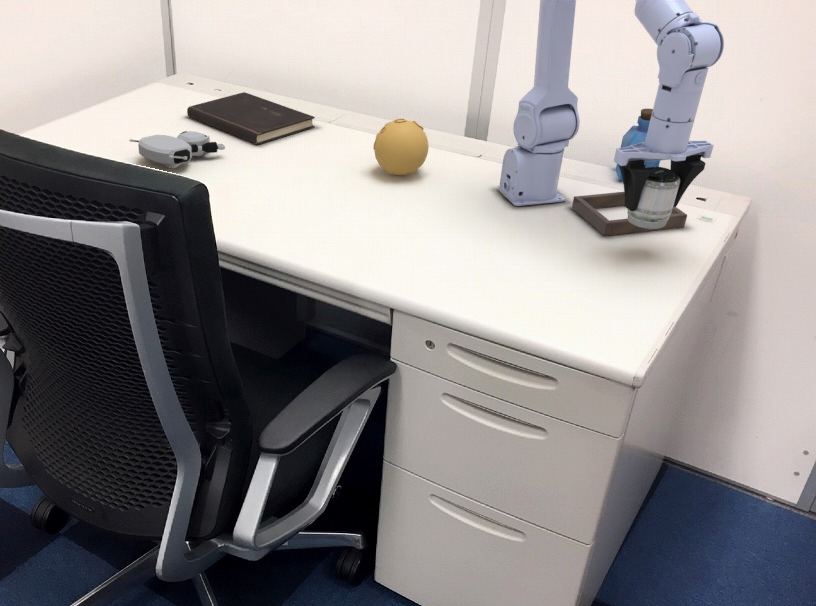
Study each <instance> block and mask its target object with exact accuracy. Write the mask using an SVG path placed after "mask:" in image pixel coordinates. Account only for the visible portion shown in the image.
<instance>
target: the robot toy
mask: <svg viewBox="0 0 816 606" xmlns="http://www.w3.org/2000/svg"><path fill="white" fill-rule="evenodd" d="M129 142H131V143H137V144H138V154H139V156H141V157H142V158H143V159H144V160H147V161H149V162H151V163H154V164H157V165H162V166H165V167H167V168H169V169H177V168H178V167H180V166H181V165H182V164H186V163H189V162H190V161H191V159H192V158H193V157H197V158H198V157H202V156H204V154H205V153H207V154H213V153H218V150H220V151H223V150H225V149H226V145H225V144H223V143H217V142H216V141H211V139H210V136H209V135H206V134H204V133H201V132H198V131H192V130H189V131H187V130H185V131H182V132H181V133H179V134H178V135H177V136H171V135H166V134H154V135H148V136H145V137H144V136H143V137H142V138H140V139H139V140H138V139H137V140H136V139H131V138H130V139H129Z"/></svg>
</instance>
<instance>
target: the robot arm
mask: <svg viewBox="0 0 816 606" xmlns="http://www.w3.org/2000/svg"><path fill="white" fill-rule="evenodd" d="M576 5H577V0H539V9H538V10H539V11H538V23H537V24H538V25H537V38H536V49H535V51H536V52H535V64H534V77H533V78H534V79H533V87H532V88H531V89H530V90H529V91H528V92H527V93H526V94H525V95H524V96H523V97H522V98H521V99H520V100H519V101H518V107H517V113H516V115H515V117H514V120H513V129H512V130H513V135H514V139H515V141H516V142H517V146H514V147H511V148H508V149H507V150H506V151H505V153H504V155H503V159H502V166H501V173H500V179H499V186H497V187H496V189H497V191H498V192H500V194H502V195H503V196H504V197H505V198H506V199H507V200H508V201H509V202H510V203H511V204H512V205H513V206H514V207H522V206H531V205H532V206H533V205H543V204H552V203H563V202H565V201H566V198H565V196H563V195H562V194H560V192H559V191H557V190H558V187H559V180H560V175H561V169H562V164H563V158H564V152H565V148H568V147H569V144H570V141H571V140H573V139H574V138H575V137H576V136H577V135H578V132H579V129H580V122H581V121H580V114H579V111H578V103H579V102H578V101H579V97H578V96H577V95H576V94H575V93H574V92H573V91H572V90H571V88H569V81H570V80H569V79H570V69H571V58H572V49H573V48H572V47H573V38H574V37H573V36H574V27H575V15H576ZM633 11H634V16H635V18H636V19H637V20H638V22H639V23H640V24H641V25H642V27H643V28H644V29H645V31H646V32H647V33H648V35H649V36H650V38H651V39H652V40H653V41H654V43H655V44H656V45H657V48H656V59H657V63H658V68H659V69H658V70H659V71H658V75H657V78H658V86H657V92H656V95H655V99H654V103H653V108H652V109H653V111H652V115H651V119H650V124H649V128H648V132H647V136H646V140H645V142H641V143H638V144H635V145H631V146H628V147H623V148H620V147H617V148H616V149H615V153H614V157H613V162H614V163H616V165H617V164H618V165H619V168H620V171H621V174H622V179H623V182H622V184H623V189H624V190H623V192H624V195H625V206H624V207H625V208H626V209H629V210H630V211H636V209H637V207H638V204H639V200H640V196H641V193H642V190H643V187H644V185H645V183H646V181H647V179H648V177H649V176H650V174H651V172H650V171H649V170H648V169H646V168H645V166H646V165H644V162H648V161H659V160H660V161H669V160H670V168H669V169H670V170H672V171H673V172H675V173H676V174H677V175H678V176H679V178H680V184H679V187H678V191H677V195H676V198H675V202H674V206H673V207H677V206H678V204H679V202H681V199H682V198H683V196H684V194H685V192H686V191H687V189H688V188H689V186H690V184H692V183H693V181H694V180H695V179H696V178H697V177H698V176H699V175H700V174H701V173H702V172H703V171H704V170H705V167H706V162H705V161H703V160H702V158H703V159H710V158H711V156H712V153H713V149H714V146H715V145H714V144H713V143H711V142H709V141H707V140H690V138H691V135H692V131H693V127H694V123H695V119H696V116H697V113H698V108H699V105H700V101H701V98H702V94H703V91H704V86H705V82H706V79H707V75H708V73H709V68H710V67H713V66H714V65H715V64H717V62H718V61H719V60H720V59H721V57H722V56H723V52H724V48H725V39H724V36H723V33H722V31H721V29H720V26H719V25H718V24H717V23H715V22H712V21H704V20H703V19H702V18H700V16H699V14H698V13H697V12H694V11H693V10H692V8H691V7H690V5H689V4H688V3H687V2H686V1H685V0H635V4H634V10H633Z"/></svg>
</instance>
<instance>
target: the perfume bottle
mask: <svg viewBox="0 0 816 606" xmlns="http://www.w3.org/2000/svg"><path fill="white" fill-rule="evenodd" d="M652 111H653V108H642V109H641V110H640V115H639V116H638V117H637V122H636V123H637V125H632V126H631V127H630V128H629V129H628V130H627V131H626V132H625V134H623V135H622V140H621V143H620V147H619V148H623V147H628V146H631V145H635V144H638V143H641V142H645V140H646V136H647V132H648V128H649V124H650V119H651V115H652ZM660 163H661V160H659V161H648V162H644V165H646V166H645V168H647V167H660ZM615 172H616V176H617V180H618V182H620V183H621V182H622V183H623V179H622V174H621V171H620V168H619V165H618V164H617V163H616V165H615Z"/></svg>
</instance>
